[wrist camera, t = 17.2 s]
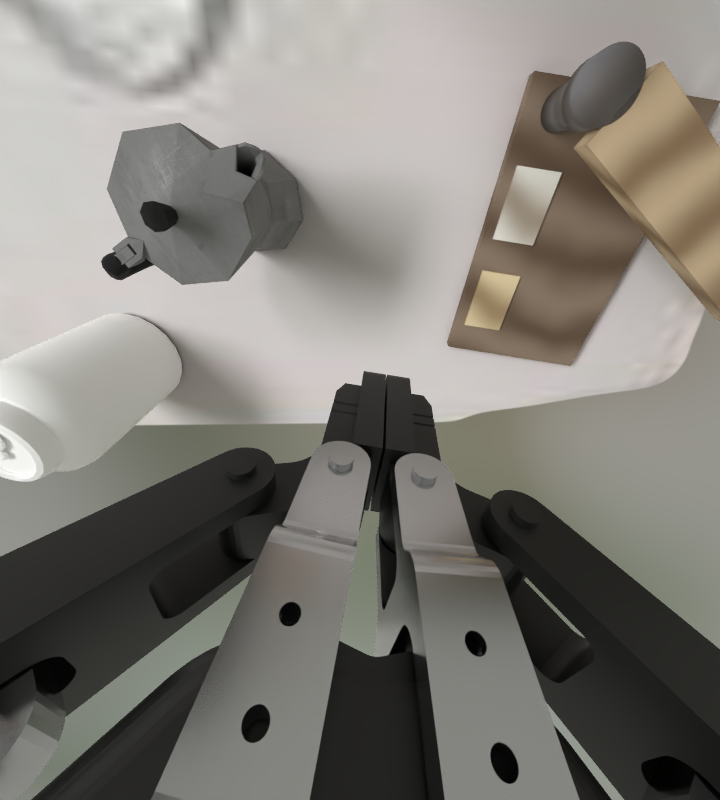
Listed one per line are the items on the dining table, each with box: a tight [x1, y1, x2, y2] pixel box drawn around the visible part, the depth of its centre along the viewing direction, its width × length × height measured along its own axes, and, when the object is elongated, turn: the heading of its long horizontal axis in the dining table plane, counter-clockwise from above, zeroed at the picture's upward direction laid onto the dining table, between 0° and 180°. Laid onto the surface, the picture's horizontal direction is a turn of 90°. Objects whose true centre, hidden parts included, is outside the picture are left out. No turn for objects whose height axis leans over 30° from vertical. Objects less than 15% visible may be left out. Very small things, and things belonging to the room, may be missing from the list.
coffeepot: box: [101, 123, 303, 285], centre depth 26 cm, size 15×9×18 cm, turn 118°
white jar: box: [0, 313, 182, 481], centre depth 36 cm, size 12×12×20 cm
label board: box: [447, 71, 720, 366], centre depth 31 cm, size 24×15×6 cm, turn 172°
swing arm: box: [562, 42, 720, 321], centre depth 24 cm, size 24×5×2 cm, turn 53°
